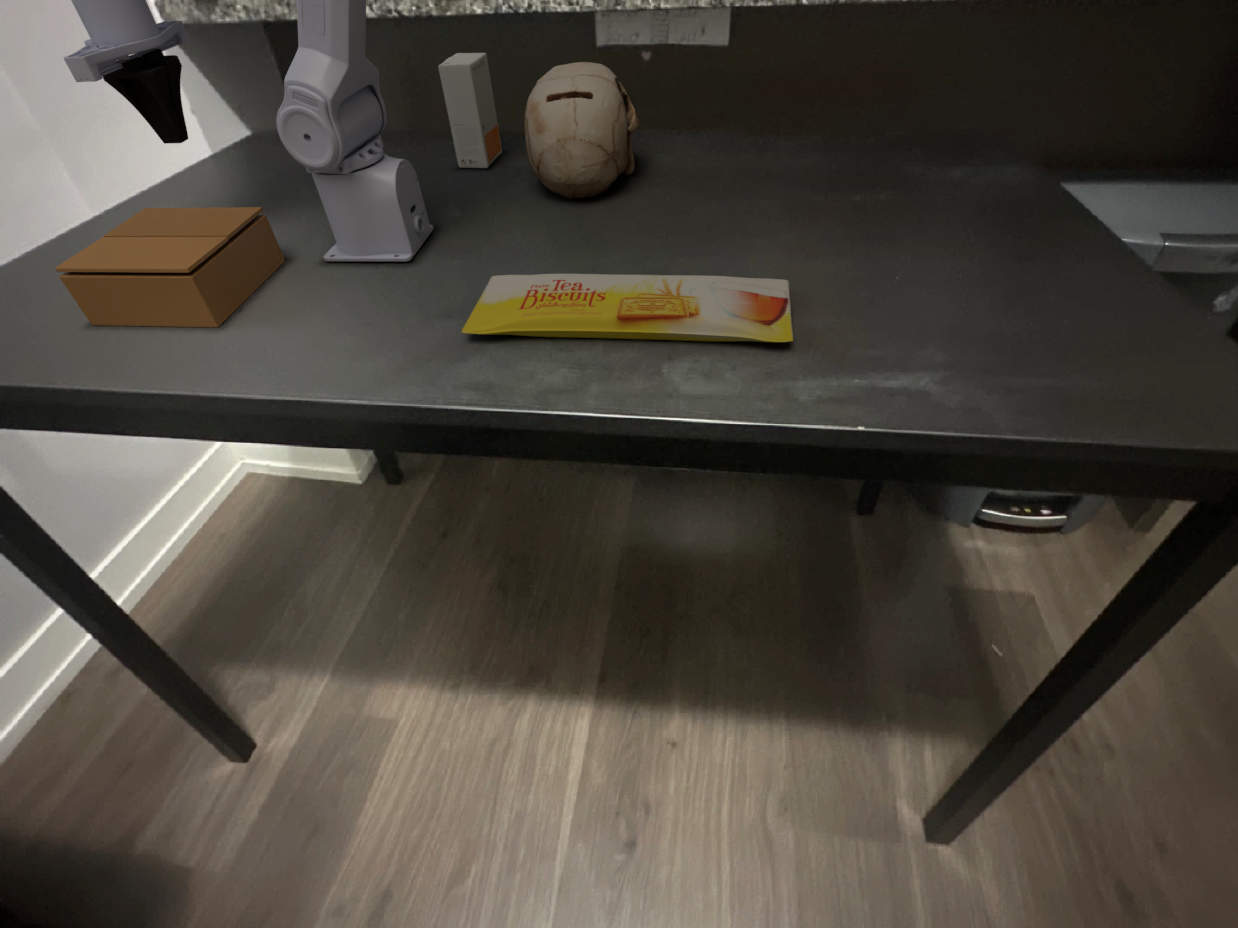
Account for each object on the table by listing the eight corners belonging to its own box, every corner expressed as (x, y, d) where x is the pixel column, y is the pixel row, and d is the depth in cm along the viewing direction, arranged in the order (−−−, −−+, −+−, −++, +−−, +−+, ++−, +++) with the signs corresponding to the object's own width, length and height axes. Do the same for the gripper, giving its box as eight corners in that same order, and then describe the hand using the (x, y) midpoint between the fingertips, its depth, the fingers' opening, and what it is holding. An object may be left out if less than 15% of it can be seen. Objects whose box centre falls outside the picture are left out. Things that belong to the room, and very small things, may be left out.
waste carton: (285, 260, 72) (262, 206, 68) (218, 327, 62) (187, 268, 58) (173, 260, 73) (144, 207, 70) (91, 325, 64) (53, 268, 60)
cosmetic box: (489, 169, 88) (469, 64, 80) (458, 168, 89) (435, 65, 81) (504, 152, 92) (487, 51, 84) (474, 152, 93) (454, 52, 85)
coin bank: (603, 141, 92) (598, 29, 82) (676, 195, 82) (679, 75, 72) (498, 174, 87) (478, 59, 77) (561, 235, 78) (548, 112, 67)
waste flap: (229, 240, 63) (227, 236, 63) (189, 272, 59) (187, 268, 59) (105, 240, 65) (102, 236, 65) (57, 272, 60) (54, 267, 60)
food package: (456, 321, 56) (489, 264, 64) (462, 344, 58) (494, 286, 65) (795, 329, 52) (790, 267, 60) (792, 354, 54) (787, 291, 61)
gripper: (113, -31, 66) (182, 119, 76) (-3, -2, 56) (93, 167, 65) (178, -35, 66) (240, 117, 75) (73, -7, 55) (160, 166, 64)
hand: (176, 141), depth 70 cm, fingers closed
